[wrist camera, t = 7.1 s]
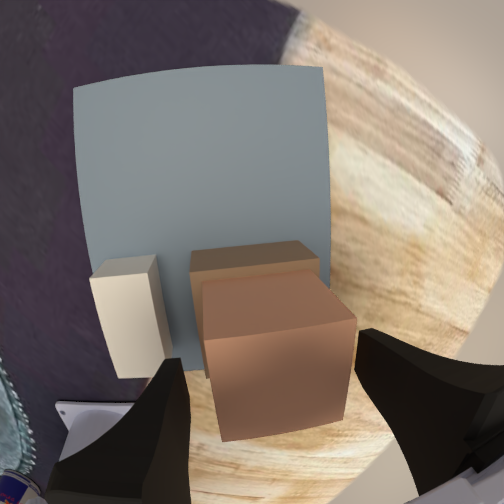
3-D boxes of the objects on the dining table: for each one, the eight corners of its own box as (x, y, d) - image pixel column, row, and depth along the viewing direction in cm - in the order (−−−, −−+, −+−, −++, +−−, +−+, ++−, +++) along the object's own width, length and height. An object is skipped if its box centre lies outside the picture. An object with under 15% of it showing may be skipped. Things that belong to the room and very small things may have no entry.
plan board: (323, 346, 21) (346, 381, 17) (122, 369, 19) (111, 409, 15) (318, 69, 16) (348, 49, 12) (77, 90, 14) (46, 74, 10)
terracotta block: (308, 356, 16) (342, 419, 11) (214, 369, 15) (222, 442, 11) (310, 269, 15) (357, 317, 10) (202, 280, 14) (203, 340, 9)
